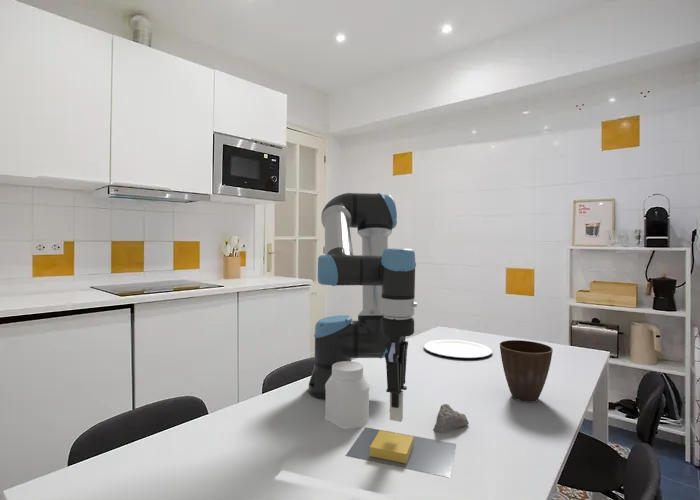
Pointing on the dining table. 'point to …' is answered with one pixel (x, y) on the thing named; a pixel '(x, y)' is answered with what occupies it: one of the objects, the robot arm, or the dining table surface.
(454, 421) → the stone
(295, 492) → the dining table surface
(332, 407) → the jar
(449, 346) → the plate
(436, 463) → the slate board
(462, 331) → the dining table surface
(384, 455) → the yellow block
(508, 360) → the plant pot
